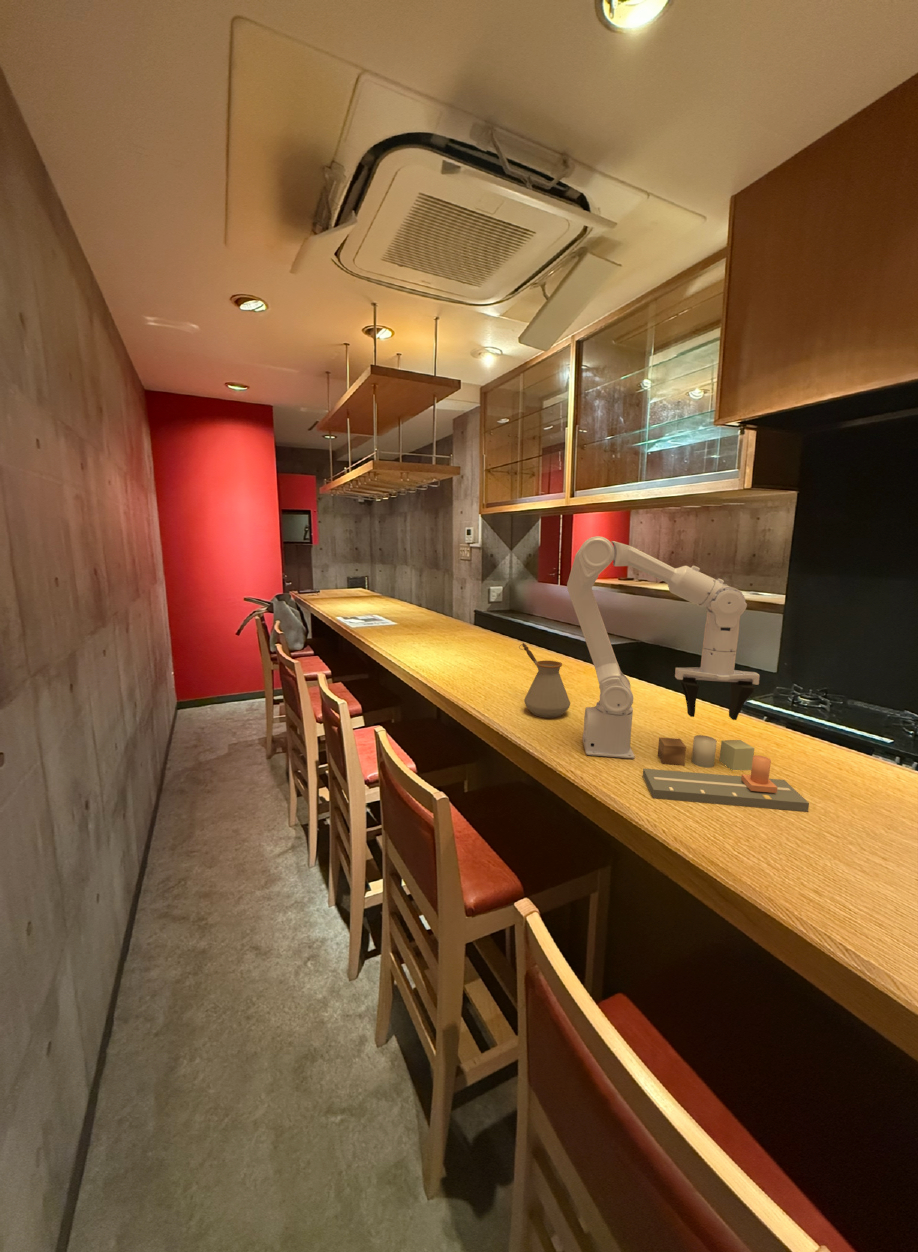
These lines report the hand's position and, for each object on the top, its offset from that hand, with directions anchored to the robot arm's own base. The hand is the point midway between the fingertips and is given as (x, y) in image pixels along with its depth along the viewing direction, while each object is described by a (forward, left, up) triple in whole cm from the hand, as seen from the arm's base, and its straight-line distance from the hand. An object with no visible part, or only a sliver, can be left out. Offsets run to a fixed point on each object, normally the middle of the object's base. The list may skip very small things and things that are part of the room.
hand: (711, 716), depth 95 cm
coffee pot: (-33, +27, -10) cm, 44 cm away
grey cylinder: (-1, -1, -9) cm, 9 cm away
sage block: (+5, -1, -9) cm, 11 cm away
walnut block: (-7, -1, -9) cm, 12 cm away
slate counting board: (-2, -13, -9) cm, 16 cm away
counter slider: (+4, -13, -8) cm, 15 cm away
